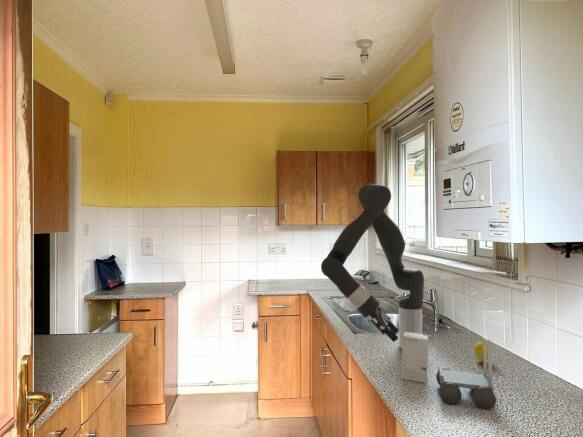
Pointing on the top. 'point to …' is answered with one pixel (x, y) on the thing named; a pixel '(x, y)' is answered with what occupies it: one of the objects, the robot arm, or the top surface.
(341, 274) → the robot arm
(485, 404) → the trolley
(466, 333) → the top surface
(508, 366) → the top surface
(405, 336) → the skincare box
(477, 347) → the lemon
